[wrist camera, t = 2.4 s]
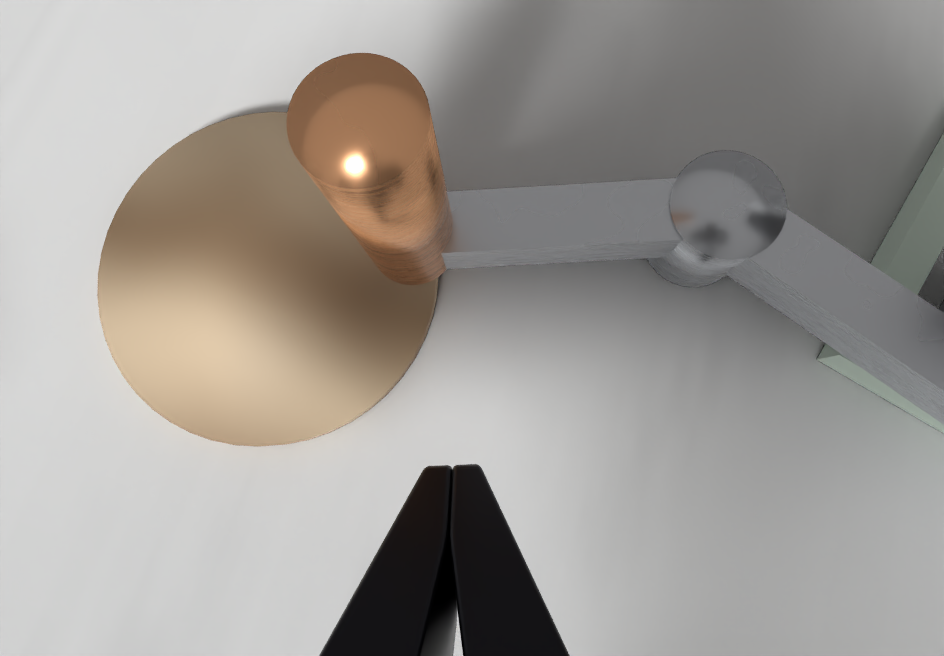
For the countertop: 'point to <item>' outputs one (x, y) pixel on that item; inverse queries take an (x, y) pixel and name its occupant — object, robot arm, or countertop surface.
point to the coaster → (250, 294)
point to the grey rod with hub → (600, 223)
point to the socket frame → (906, 267)
